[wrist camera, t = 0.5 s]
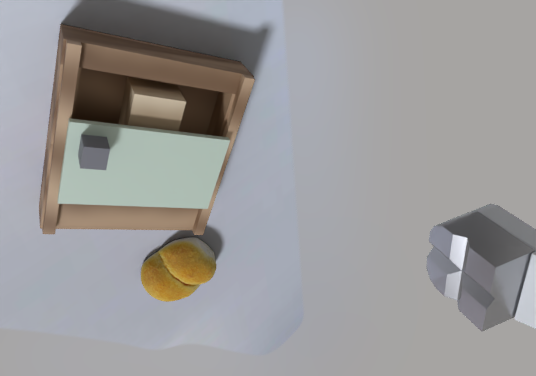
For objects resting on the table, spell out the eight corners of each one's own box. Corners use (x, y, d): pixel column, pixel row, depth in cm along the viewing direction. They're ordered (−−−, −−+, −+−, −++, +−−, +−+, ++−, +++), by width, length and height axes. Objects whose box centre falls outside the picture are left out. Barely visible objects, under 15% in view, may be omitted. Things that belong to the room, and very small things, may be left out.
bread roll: (125, 270, 55) (131, 295, 53) (185, 224, 55) (194, 247, 52) (169, 298, 61) (176, 322, 58) (223, 256, 61) (233, 279, 58)
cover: (68, 118, 38) (71, 134, 36) (228, 137, 45) (237, 151, 43) (57, 199, 41) (59, 217, 39) (206, 205, 48) (213, 221, 46)
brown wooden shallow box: (60, 23, 37) (64, 42, 34) (240, 61, 45) (256, 79, 42) (39, 205, 46) (40, 233, 43) (194, 210, 54) (204, 235, 51)
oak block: (127, 76, 41) (134, 93, 39) (176, 85, 44) (186, 101, 41) (118, 122, 44) (124, 141, 41) (165, 128, 46) (174, 146, 43)
